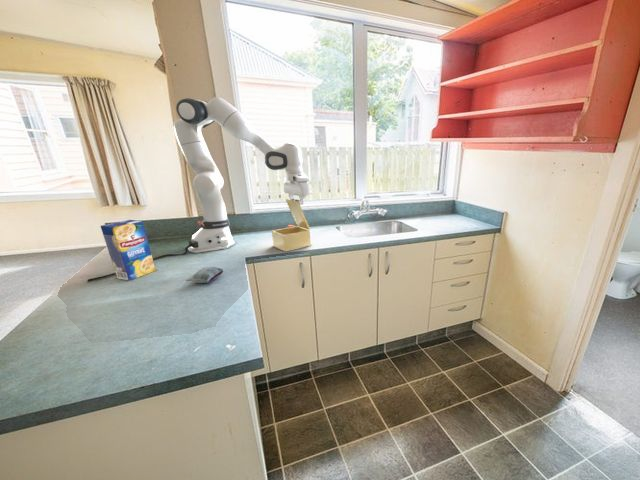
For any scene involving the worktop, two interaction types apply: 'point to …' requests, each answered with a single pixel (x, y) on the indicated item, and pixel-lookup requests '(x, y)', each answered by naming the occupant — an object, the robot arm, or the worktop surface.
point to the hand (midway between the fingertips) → (296, 203)
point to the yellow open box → (291, 238)
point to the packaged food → (206, 275)
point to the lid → (297, 213)
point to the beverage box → (128, 249)
